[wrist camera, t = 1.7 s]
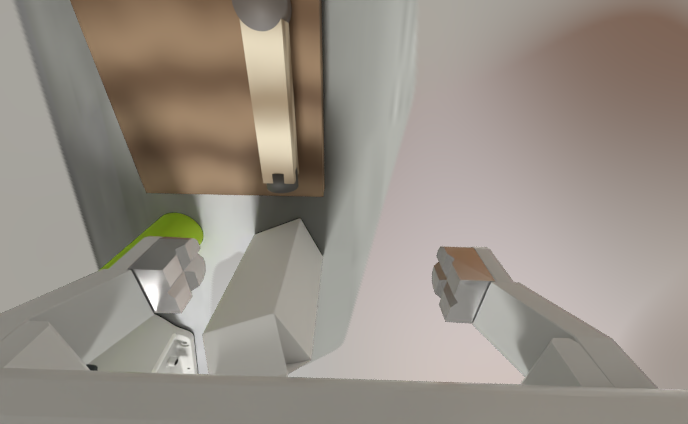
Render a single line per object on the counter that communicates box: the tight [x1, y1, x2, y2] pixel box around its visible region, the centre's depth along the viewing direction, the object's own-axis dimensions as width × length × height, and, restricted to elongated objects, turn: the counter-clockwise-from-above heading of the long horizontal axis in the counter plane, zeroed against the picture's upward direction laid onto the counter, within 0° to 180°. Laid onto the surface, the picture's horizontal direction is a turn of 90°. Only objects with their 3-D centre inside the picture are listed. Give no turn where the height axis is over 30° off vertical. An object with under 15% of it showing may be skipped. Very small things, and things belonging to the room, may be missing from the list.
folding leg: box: [232, 0, 299, 193], centre depth 23 cm, size 17×4×3 cm, turn 179°
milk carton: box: [202, 219, 323, 377], centre depth 28 cm, size 7×7×19 cm
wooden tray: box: [70, 0, 325, 197], centre depth 24 cm, size 22×20×6 cm
